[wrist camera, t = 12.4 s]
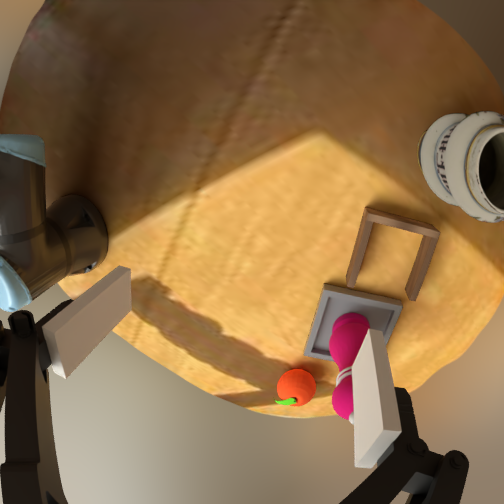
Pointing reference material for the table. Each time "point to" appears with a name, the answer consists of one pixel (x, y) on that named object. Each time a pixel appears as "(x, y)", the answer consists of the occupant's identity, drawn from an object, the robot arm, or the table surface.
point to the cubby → (399, 222)
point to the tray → (349, 301)
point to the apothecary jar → (466, 162)
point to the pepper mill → (346, 359)
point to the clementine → (296, 387)
